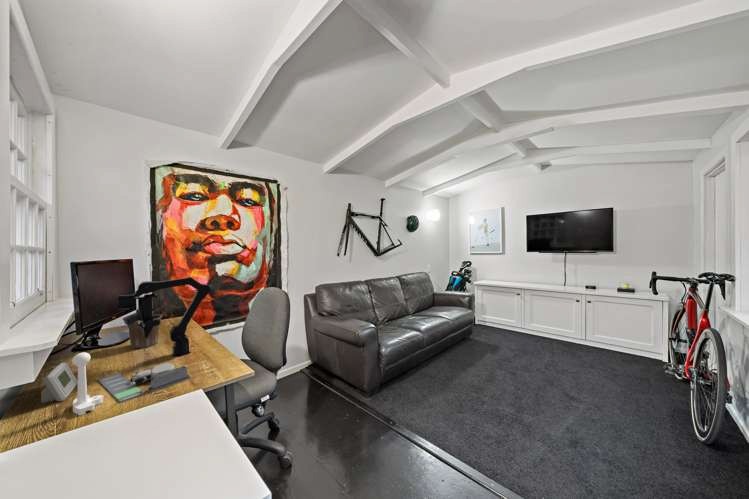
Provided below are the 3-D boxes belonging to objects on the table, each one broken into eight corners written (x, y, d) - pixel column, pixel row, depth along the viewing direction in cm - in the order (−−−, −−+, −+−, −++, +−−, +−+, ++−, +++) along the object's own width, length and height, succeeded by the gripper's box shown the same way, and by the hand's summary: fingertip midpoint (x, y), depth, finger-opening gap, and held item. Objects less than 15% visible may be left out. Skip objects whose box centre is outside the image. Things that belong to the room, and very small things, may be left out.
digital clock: (63, 402, 101) (62, 374, 101) (28, 408, 98) (28, 379, 97) (87, 382, 116) (87, 358, 116) (58, 387, 112) (58, 361, 112)
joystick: (70, 405, 99) (70, 351, 99) (100, 396, 105) (99, 345, 105) (75, 417, 92) (74, 358, 92) (106, 406, 99) (105, 351, 98)
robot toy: (130, 392, 110) (175, 378, 119) (128, 381, 110) (174, 368, 119) (132, 380, 120) (174, 368, 129) (131, 370, 119) (173, 359, 129)
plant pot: (168, 342, 164) (168, 316, 164) (136, 352, 150) (135, 322, 149) (152, 338, 171) (152, 313, 171) (120, 347, 156) (120, 319, 156)
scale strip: (119, 374, 124) (119, 372, 124) (144, 394, 107) (144, 392, 107) (97, 380, 118) (97, 379, 118) (120, 403, 101) (120, 401, 101)
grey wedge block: (186, 376, 122) (186, 364, 122) (190, 378, 120) (190, 367, 120) (147, 389, 110) (147, 377, 110) (151, 392, 108) (151, 380, 108)
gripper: (118, 307, 136) (118, 338, 136) (131, 312, 125) (131, 346, 126) (146, 303, 145) (146, 332, 145) (160, 307, 135) (160, 339, 135)
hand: (146, 337), depth 137 cm, fingers closed
